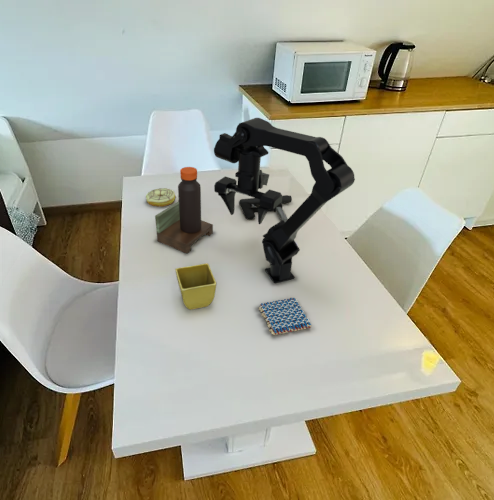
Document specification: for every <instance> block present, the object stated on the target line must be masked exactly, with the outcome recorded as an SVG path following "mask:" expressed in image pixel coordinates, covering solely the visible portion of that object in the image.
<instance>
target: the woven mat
mask: <svg viewBox="0 0 494 500" xmlns="http://www.w3.org/2000/svg"><path fill="white" fill-rule="evenodd" d="M299 304H300V302H299V301H298V299H296V298H295V297H290V298H287V299H286V298H284V299H278V300H275V301H274V300H273V301H270V302H269V301H267V302H264V303H263V302H261V303H260V304H259V307H258V311H260V312H261V317H263V318H264V319H265V321H266V322H267V323H266V325H267V327H268V328H269V330H268V332H269V333H271V334H272V335H274V336H275V335H278V336H279V335H281V334H286V333H289V332H290V333H292V332H297V331H301V330H305V329H311V327H312V324H311V321H310V318H309V317H307V314H306V313H305V311H304V310H303V308H302V306H301V304H300V305H299Z"/></svg>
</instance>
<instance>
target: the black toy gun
mask: <svg viewBox="0 0 494 500" xmlns="http://www.w3.org/2000/svg"><path fill="white" fill-rule="evenodd" d="M292 201H293V198H292V195H287V194H284V195H282V202H281V203H280V204H279V205H278V206H277V207H275V208H274V209H272V210H269V211H267V213H269V212H273V213H276V214H277V216H278V217H279V219H280V221H282V220H283V221H284V222H286V221H287V220H288V219H289V217H287V215H286V213H285V211H284V209H283V205H284V204H289V203H292ZM259 203H260V199H257V198H254V197H251V198H241V199H239V200H238V205H239V207H240V208H241V209H240V210H241V211H242V213H243V215H244V218H245V219H247V220H249V221H250V220H254V219H255V218H256V214H258V207H259V206H260V204H259Z"/></svg>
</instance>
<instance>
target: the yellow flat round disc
mask: <svg viewBox="0 0 494 500" xmlns="http://www.w3.org/2000/svg"><path fill="white" fill-rule="evenodd" d="M145 198H146V202H147V204H148V205H149V206H152V207H158V208H159V207H160V208H161V207H163V208H164V207H169V206H171V205H173V204H174V201H175V199H176V193H175V191H174V190H173V189H170V188H167V187H160V188H155V189H151V190H150V191H148V192H147V194H145Z"/></svg>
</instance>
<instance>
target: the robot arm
mask: <svg viewBox="0 0 494 500" xmlns="http://www.w3.org/2000/svg"><path fill="white" fill-rule="evenodd" d="M266 147H269V148H273V149H276V150H281V151H284V152H287V153H292V154H294V155H299V156H303V157H305V159H306V160H307V162H308V165H309V170H310V174H311V177H312V178H313V180H314V184H313V185H312V189H311V193H310V195H309V196H308V197H307V198H306V199H305V200H304V201H303V202H302V203H301V204H300V205H299V206H298V208H297V209H296V210H295V211H294V212H293V213H292V214H291V215H290V216H289V217H288V220H287V221H286V222H284V221H283V220H282V221H281V220H280V221H278V222H277V223H275V224H274V225H272V226H271V227H270V228H269V229H268V230H267V232H266V233H264V234H263V235H262V237H263V238H262V240H261V244H262V247H263V248H262V249H263V252H264V257H265V260H266V261H267V262H268V263H269V267H266V268H265V269H264V272H265V273H266V274H267V276H268V277H269V278H270V279H271V281H272V282H273V283H274V284H279V283H282V282H286V281H290V280H291V281H292V280H295V275H294V274H293V273H292V267H293V266H292V265H293V257H295V256H296V255H298V254H299V252H300V247H299V245H298V244H297V242H296V240H295V239H296V238H297V234H298V232H299V231H300V230H301V229H302V227H304V226H305V225H306V224H307V223H308V222H309V221H310V220H311V219H312V218H313V217H314V216H315V215H316V214H317V213H318V212H319V211H320V210H321V209H322V208H323V207H324V206H325V205H326V204H327V203H328V202H329V201H330V200H332V199H333V198H335V197H337V196H338V195H340V194H342V193H343V192H344V191H345V190H347V189H349V188H350V187H351V186H353V184H354V183H355V181H356V178H355V172H354V171H353V169H352V167H351V166H349V165H348V163H347V162H346V160H345V158H344V157H343V155H341V154H340V153H339V152H338V151H336V149H334V148H333V147H332V146H331V145H330V143H329V141H328V140H327V139H326V138H325V137H322V136H313V135H310V134H309V135H308V134H306V133H305V134H304V133H300V132H295V131H292V130H287V129H283V128H278V127H277V126H276V127H275V126H273V125H272V123H271V122H269V121H268V120H266V119H263V118H261V117H254V118H251V119H248V120H244V121H242V122H239V123H238V124H237V126H236V128H235V132H234V133H233V135H230V134H229V133H227V132H223V133H221V134H219V139H218V140H217V141H216V143H215V145H214V147H213V153H214V156H215V157H216V158H217V159H221V160H222V161H226V162H228V163H231V164H237V163H238V164H237V165H238V167H237V171H236V172H235V178H237V180H236V179H235V178H232V177H229V176H223V177H221V178H220V179H218V180H216V182H215V183H214V186H213V190H214V192H215V193H217V195H218V196H219V197H220V198H221V199H222V201H223V203H224V205H225V206H226V208H227V210H228V212H229V214H230V215H231V216H233V215H234V214H235V205H236V193H237V194H241V195H243V196H248V197H251V198H257V199H260V203H259V204H260V206H257V207H258V213H257V214H258V215H257V224H258V225H261V224H262V223H263V221H264V219H265V217H266V215H267V213H268V212H267V211H269V210H272V209H274V208H275V207H277V206H278V205H279V204H280V203H281V202H282V196H283V194H282V193H281V192H280V191H276V190H273V189H271V188H270V189H268V190H267V191H265V192H262V191H259V190H261V189H263V187H264V186H268V183H269V179H270V174H269V173H267V172H263V170H262V169H261V158H262V157H264V156H267V155H269V151H268V149H267V148H266ZM325 163H326V164H328V165H329V167H330V168H329V169H327V168H326V167H325Z"/></svg>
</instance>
